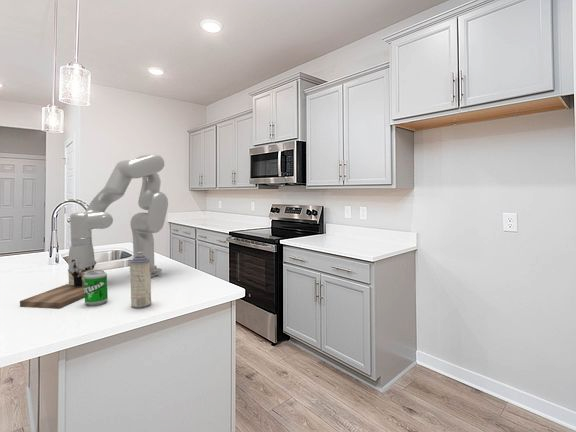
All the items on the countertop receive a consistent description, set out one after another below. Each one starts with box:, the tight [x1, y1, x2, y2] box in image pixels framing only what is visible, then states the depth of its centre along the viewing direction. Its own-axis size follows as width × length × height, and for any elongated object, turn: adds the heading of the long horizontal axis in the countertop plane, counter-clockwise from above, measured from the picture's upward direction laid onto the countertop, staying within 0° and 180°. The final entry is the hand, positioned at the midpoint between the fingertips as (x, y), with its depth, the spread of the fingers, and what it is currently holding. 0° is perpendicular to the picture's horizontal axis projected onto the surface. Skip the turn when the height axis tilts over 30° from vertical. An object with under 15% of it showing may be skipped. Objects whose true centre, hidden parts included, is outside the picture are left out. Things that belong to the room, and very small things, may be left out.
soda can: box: [84, 269, 109, 307], centre depth 123 cm, size 8×8×12 cm
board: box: [19, 283, 85, 309], centre depth 129 cm, size 16×22×2 cm
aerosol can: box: [129, 252, 152, 310], centre depth 121 cm, size 7×7×20 cm
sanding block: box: [67, 269, 95, 287], centre depth 140 cm, size 9×6×6 cm, turn 84°
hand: (83, 283), depth 140 cm, fingers closed on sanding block, 5 cm apart
